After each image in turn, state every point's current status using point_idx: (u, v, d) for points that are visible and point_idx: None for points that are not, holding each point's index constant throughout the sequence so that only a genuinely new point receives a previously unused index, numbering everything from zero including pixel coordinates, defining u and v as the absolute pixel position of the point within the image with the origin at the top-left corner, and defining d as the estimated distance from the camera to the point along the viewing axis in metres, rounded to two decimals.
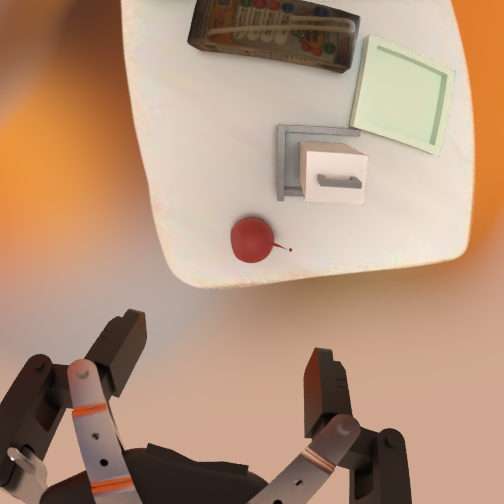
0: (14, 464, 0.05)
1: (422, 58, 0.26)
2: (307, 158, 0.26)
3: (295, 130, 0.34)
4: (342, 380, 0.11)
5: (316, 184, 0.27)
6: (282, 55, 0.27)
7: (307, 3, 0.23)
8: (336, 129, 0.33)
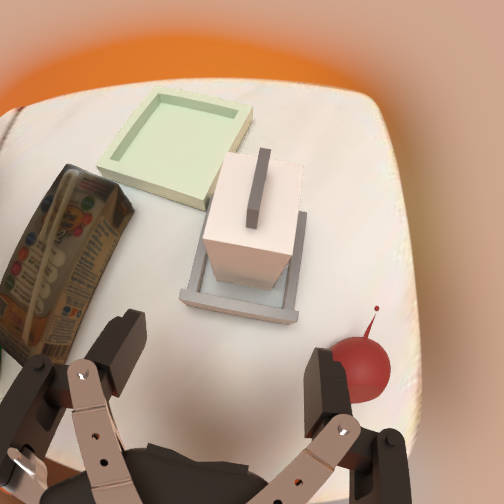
0: (14, 464, 0.05)
1: (135, 115, 0.29)
2: (215, 239, 0.16)
3: (196, 280, 0.25)
4: (342, 380, 0.11)
5: (262, 231, 0.16)
6: (81, 265, 0.22)
7: (34, 215, 0.22)
8: (205, 224, 0.26)
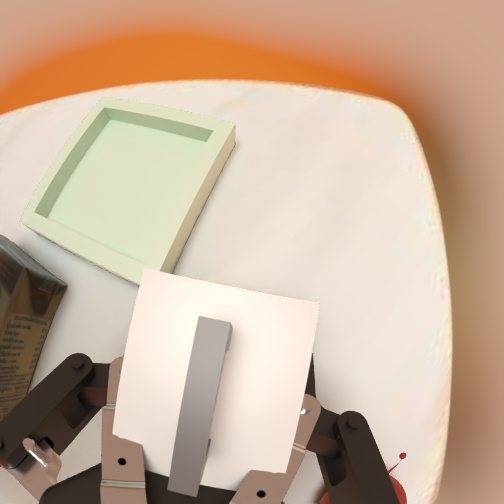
0: (28, 453, 0.05)
1: (71, 142, 0.19)
2: None
3: None
4: None
5: (221, 461, 0.06)
6: None
7: None
8: None
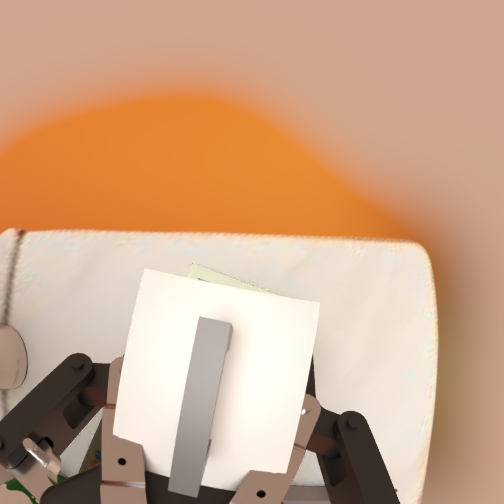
0: (27, 453, 0.05)
1: None
2: None
3: None
4: None
5: (221, 461, 0.06)
6: None
7: (97, 435, 0.21)
8: None
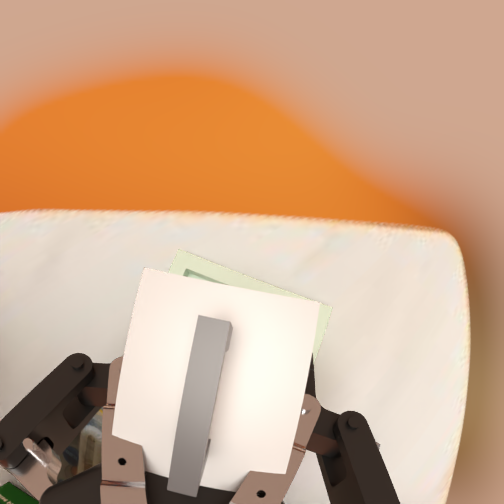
0: (28, 453, 0.05)
1: None
2: None
3: None
4: None
5: (221, 461, 0.06)
6: None
7: None
8: None
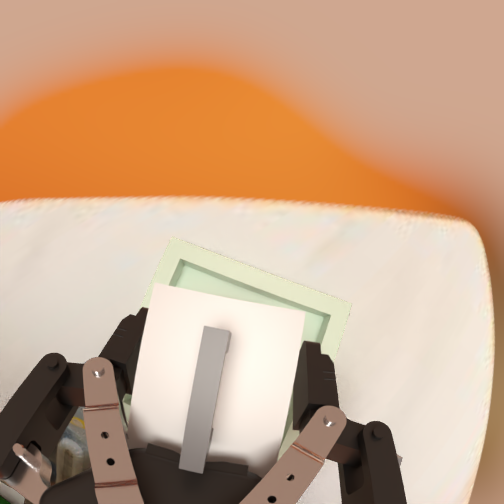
0: (19, 459, 0.05)
1: None
2: None
3: None
4: (330, 373, 0.11)
5: (222, 447, 0.08)
6: None
7: None
8: None
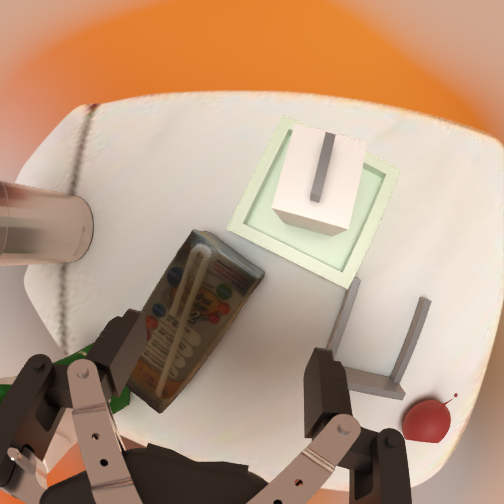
0: (14, 464, 0.05)
1: (265, 161, 0.28)
2: (282, 209, 0.18)
3: None
4: (342, 380, 0.11)
5: (324, 205, 0.18)
6: (215, 343, 0.27)
7: (159, 285, 0.26)
8: (345, 308, 0.28)
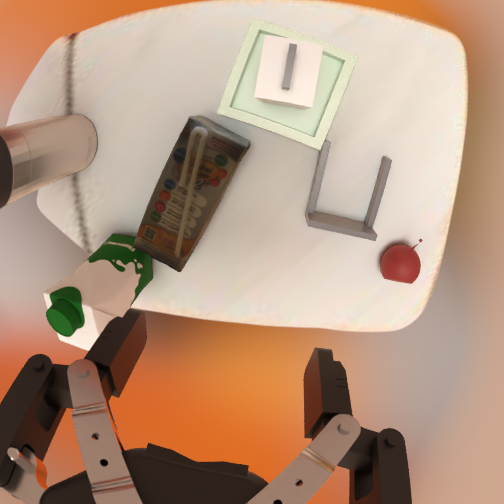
0: (14, 464, 0.05)
1: (241, 57, 0.28)
2: (262, 97, 0.22)
3: (314, 204, 0.37)
4: (342, 380, 0.11)
5: (293, 91, 0.22)
6: (218, 202, 0.35)
7: (168, 164, 0.32)
8: (320, 165, 0.34)
